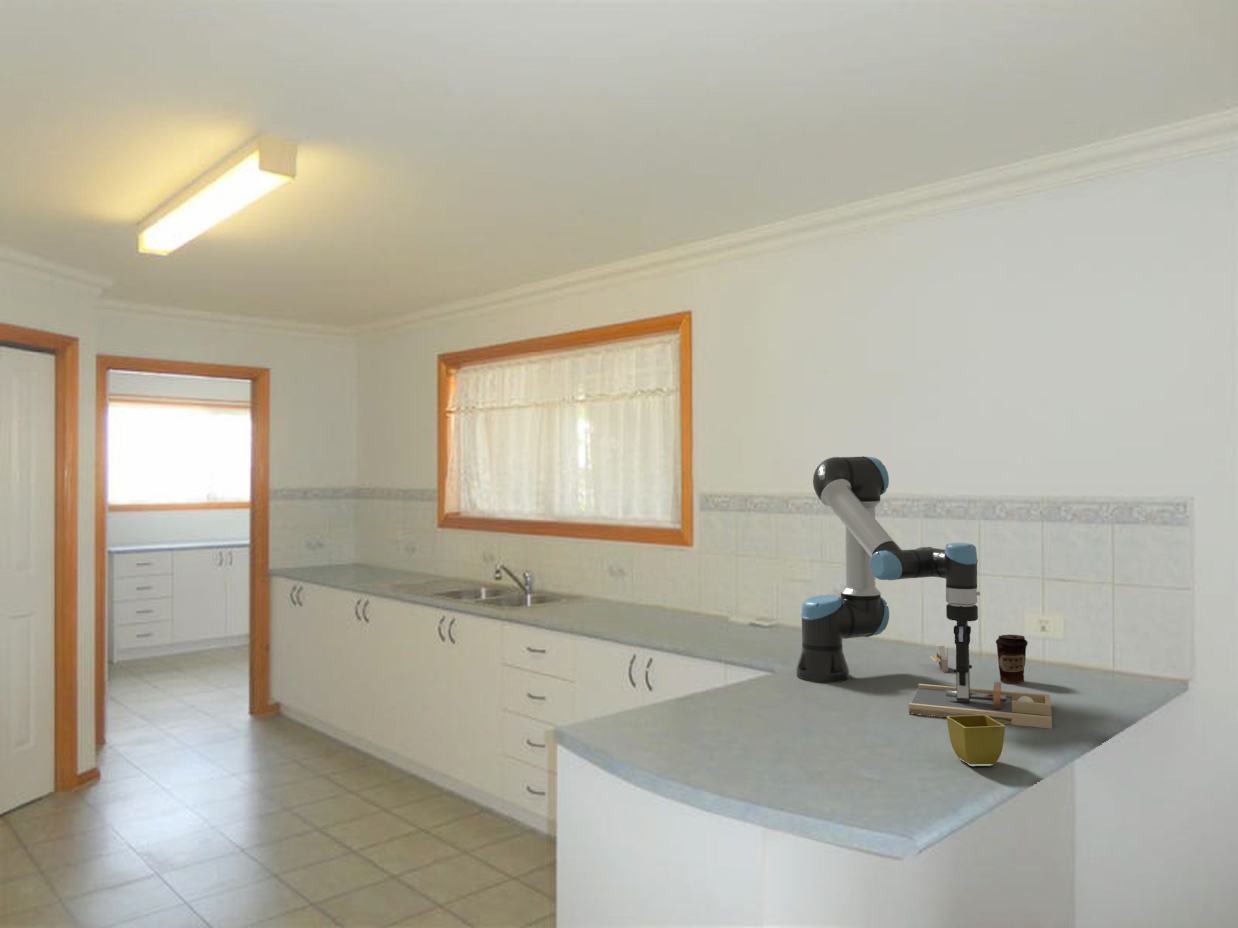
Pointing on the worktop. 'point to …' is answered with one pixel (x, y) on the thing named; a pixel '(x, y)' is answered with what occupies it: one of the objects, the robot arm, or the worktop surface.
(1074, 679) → the worktop surface
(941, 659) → the architectural model
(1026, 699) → the ball
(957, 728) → the flower pot
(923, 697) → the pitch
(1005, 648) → the coffee cup
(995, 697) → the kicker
